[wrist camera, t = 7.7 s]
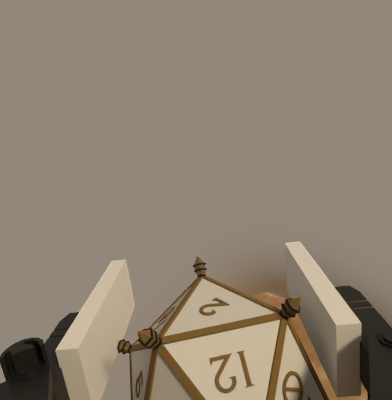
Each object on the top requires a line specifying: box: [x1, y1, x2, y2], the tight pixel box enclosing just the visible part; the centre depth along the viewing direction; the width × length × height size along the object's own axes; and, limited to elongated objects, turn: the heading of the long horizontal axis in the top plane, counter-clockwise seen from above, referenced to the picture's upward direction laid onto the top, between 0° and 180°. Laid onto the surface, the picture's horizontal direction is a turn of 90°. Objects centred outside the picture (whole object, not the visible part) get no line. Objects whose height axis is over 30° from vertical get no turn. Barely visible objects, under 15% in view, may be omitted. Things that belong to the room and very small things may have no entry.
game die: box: [117, 257, 329, 400], centre depth 13 cm, size 9×8×10 cm
